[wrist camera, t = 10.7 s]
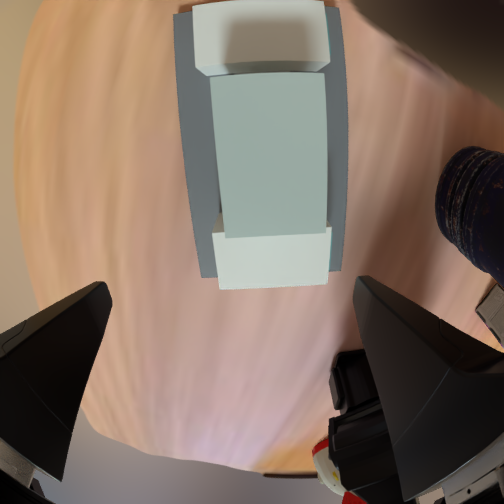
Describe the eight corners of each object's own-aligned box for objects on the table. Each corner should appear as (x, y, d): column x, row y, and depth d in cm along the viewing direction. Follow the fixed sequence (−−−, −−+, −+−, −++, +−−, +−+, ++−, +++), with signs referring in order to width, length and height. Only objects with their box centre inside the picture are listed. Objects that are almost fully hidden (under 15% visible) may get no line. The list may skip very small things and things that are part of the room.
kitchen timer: (355, 423, 36) (372, 503, 23) (395, 432, 40) (412, 494, 26) (296, 452, 41) (301, 521, 28) (342, 459, 45) (350, 516, 32)
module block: (298, 86, 15) (323, 69, 9) (302, 191, 18) (325, 233, 12) (227, 90, 15) (209, 74, 9) (235, 195, 19) (225, 238, 12)
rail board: (335, 12, 13) (355, -11, 9) (337, 264, 22) (353, 296, 18) (177, 18, 13) (157, -3, 9) (203, 271, 23) (193, 305, 19)
